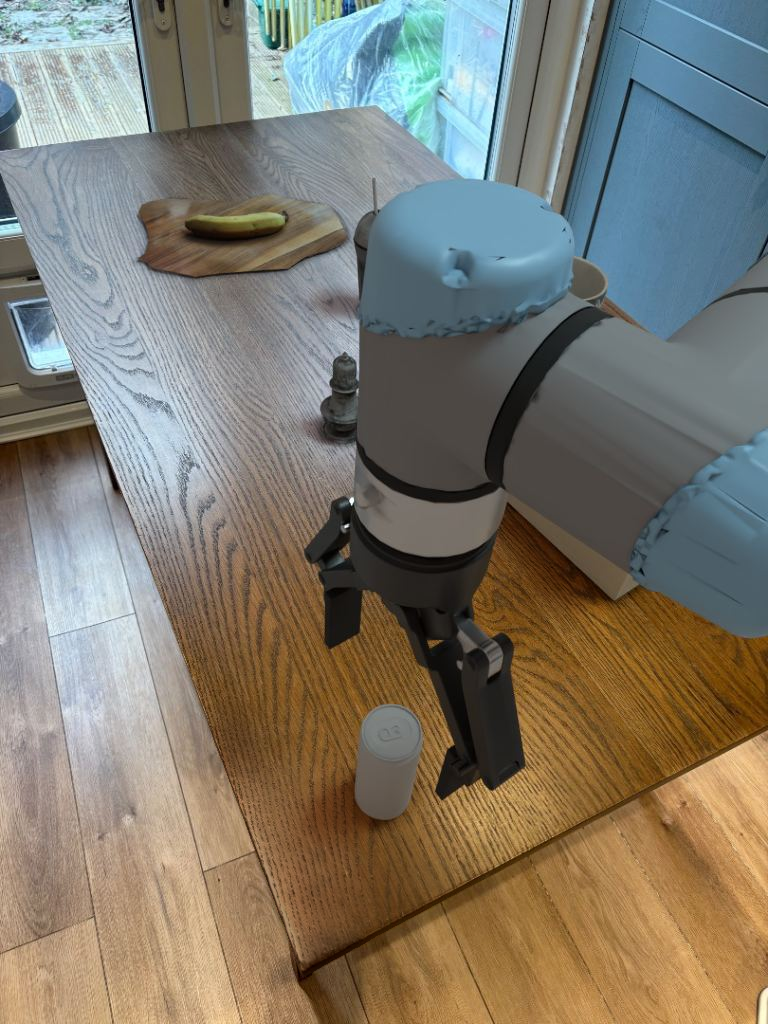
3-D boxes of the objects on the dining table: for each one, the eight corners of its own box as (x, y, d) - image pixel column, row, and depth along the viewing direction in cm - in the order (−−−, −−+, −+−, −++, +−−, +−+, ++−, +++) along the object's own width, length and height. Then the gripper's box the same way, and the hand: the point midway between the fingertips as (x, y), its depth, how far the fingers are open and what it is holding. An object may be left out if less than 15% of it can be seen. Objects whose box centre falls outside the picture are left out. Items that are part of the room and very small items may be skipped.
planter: (494, 350, 109) (507, 286, 101) (516, 306, 117) (530, 244, 109) (579, 373, 106) (599, 310, 99) (596, 327, 115) (615, 265, 107)
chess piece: (356, 450, 93) (359, 372, 84) (312, 437, 94) (311, 359, 85) (372, 421, 97) (377, 344, 88) (330, 409, 98) (331, 332, 89)
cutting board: (139, 284, 115) (134, 261, 112) (132, 202, 133) (128, 180, 130) (360, 265, 123) (361, 243, 120) (326, 190, 140) (326, 169, 137)
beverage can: (417, 814, 63) (433, 753, 55) (362, 830, 62) (369, 770, 53) (400, 761, 66) (412, 695, 58) (348, 775, 65) (352, 710, 56)
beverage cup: (390, 329, 111) (400, 196, 96) (344, 318, 112) (346, 185, 98) (404, 304, 116) (416, 174, 101) (360, 293, 117) (365, 164, 102)
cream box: (502, 497, 89) (525, 406, 79) (589, 451, 96) (622, 361, 85) (614, 601, 80) (657, 513, 69) (703, 542, 86) (754, 454, 76)
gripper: (240, 394, 42) (261, 607, 58) (542, 743, 30) (464, 896, 45) (351, 353, 46) (342, 566, 61) (667, 652, 33) (553, 825, 48)
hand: (394, 706), depth 53 cm, fingers open, 13 cm apart
